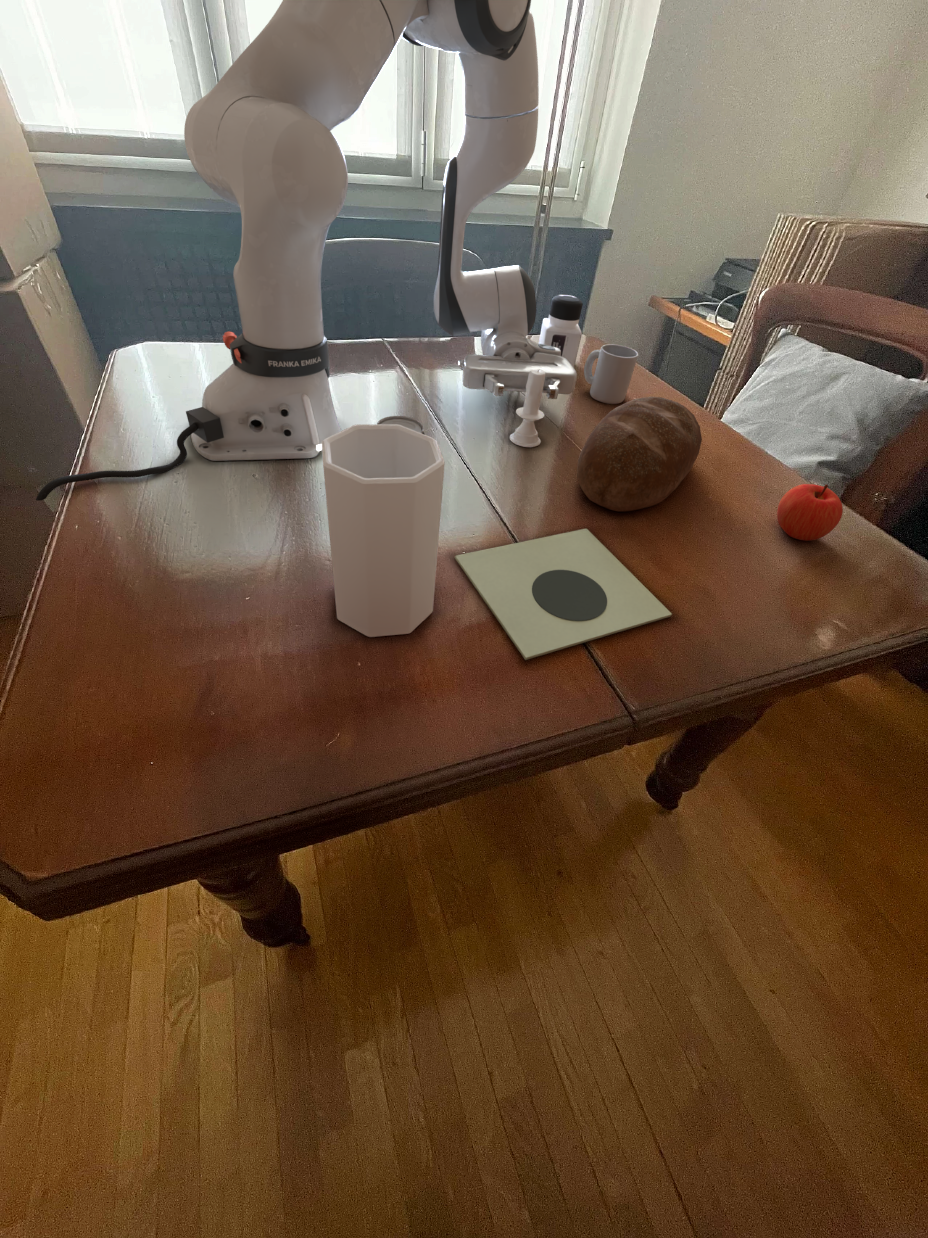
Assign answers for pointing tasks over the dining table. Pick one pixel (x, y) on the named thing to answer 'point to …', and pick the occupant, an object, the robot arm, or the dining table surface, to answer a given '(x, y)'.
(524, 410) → the candle
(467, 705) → the dining table surface
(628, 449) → the bread
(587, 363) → the cup
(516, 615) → the mat
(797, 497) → the apple
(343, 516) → the cup
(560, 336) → the container
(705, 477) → the dining table surface
